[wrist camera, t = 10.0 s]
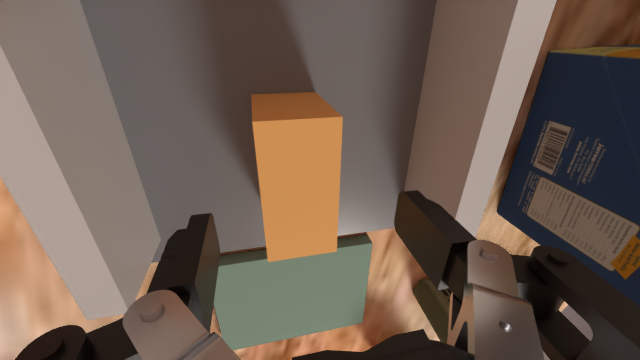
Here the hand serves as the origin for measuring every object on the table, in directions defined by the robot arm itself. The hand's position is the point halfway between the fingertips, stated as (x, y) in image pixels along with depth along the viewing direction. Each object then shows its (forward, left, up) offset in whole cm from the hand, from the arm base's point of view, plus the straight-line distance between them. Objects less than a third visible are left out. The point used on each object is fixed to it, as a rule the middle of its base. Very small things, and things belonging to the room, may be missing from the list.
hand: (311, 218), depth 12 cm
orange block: (0, 0, -8) cm, 8 cm away
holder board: (0, +2, -9) cm, 9 cm away
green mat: (0, -15, -9) cm, 17 cm away
